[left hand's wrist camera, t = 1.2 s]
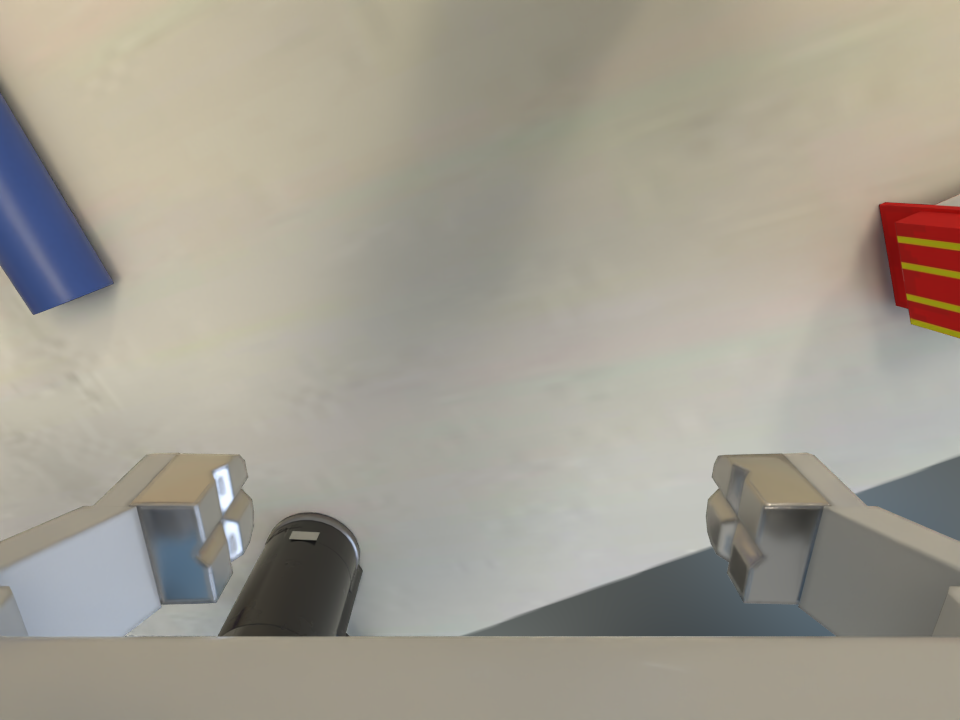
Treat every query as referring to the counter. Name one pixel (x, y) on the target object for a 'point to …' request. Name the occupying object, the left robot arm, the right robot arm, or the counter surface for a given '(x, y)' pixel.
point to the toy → (925, 261)
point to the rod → (40, 228)
